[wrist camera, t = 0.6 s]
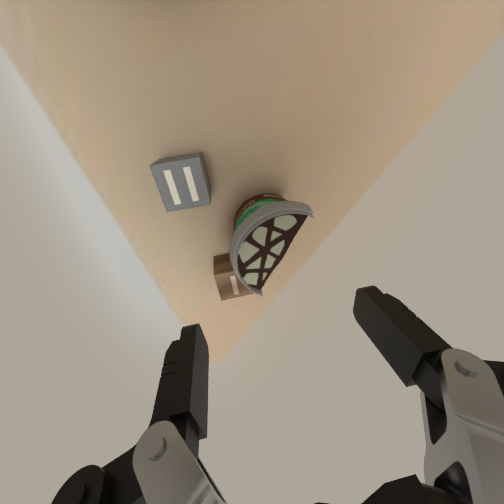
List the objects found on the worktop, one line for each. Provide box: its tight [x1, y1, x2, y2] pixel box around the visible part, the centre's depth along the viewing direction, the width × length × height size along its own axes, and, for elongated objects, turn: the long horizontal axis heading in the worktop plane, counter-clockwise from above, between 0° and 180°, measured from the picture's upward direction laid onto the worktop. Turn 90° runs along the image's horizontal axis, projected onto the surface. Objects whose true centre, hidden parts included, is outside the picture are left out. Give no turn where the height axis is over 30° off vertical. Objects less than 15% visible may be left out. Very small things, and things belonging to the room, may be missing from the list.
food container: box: [230, 194, 314, 296], centre depth 26 cm, size 12×6×10 cm, turn 153°
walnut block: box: [214, 253, 253, 300], centre depth 33 cm, size 5×5×5 cm
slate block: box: [150, 152, 211, 212], centre depth 24 cm, size 5×5×5 cm
